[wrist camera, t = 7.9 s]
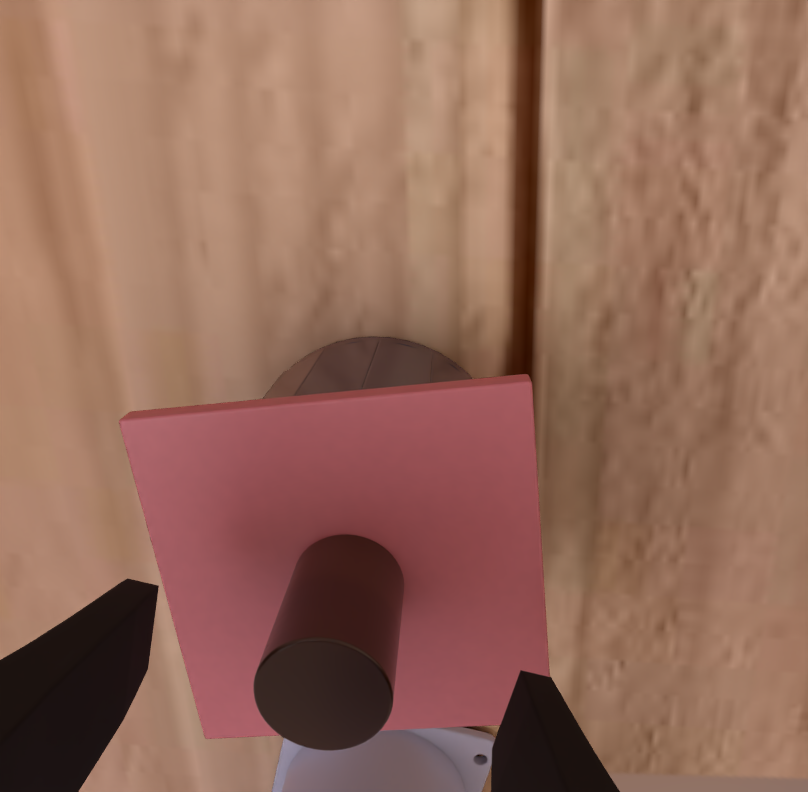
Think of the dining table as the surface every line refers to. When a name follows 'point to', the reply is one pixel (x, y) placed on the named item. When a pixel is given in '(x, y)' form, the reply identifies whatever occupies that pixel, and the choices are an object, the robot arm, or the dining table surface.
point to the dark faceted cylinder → (365, 368)
